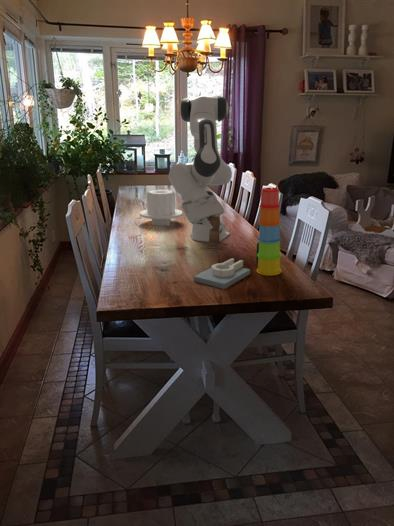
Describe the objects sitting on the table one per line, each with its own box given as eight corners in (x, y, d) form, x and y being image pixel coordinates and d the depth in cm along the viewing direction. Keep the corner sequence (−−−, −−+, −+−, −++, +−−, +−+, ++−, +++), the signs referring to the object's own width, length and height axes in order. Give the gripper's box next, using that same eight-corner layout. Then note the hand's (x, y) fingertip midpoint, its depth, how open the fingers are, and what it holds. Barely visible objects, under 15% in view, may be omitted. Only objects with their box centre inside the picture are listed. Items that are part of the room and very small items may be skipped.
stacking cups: (275, 277, 175) (281, 191, 164) (252, 272, 180) (256, 188, 169) (285, 270, 183) (291, 187, 172) (262, 266, 189) (267, 185, 177)
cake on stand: (143, 218, 272) (142, 187, 266) (183, 219, 271) (183, 188, 265) (136, 228, 248) (135, 195, 242) (180, 229, 247) (180, 195, 241)
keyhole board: (223, 266, 188) (223, 256, 186) (251, 272, 180) (252, 262, 179) (193, 280, 171) (193, 270, 170) (224, 289, 164) (224, 277, 162)
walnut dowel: (212, 239, 175) (213, 215, 172) (221, 241, 173) (221, 216, 170) (207, 241, 172) (207, 216, 169) (215, 243, 170) (216, 218, 167)
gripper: (184, 197, 163) (205, 227, 160) (214, 191, 179) (234, 218, 176) (175, 208, 167) (195, 237, 164) (205, 201, 182) (224, 227, 180)
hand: (216, 227), depth 170 cm, fingers closed on walnut dowel, 4 cm apart
